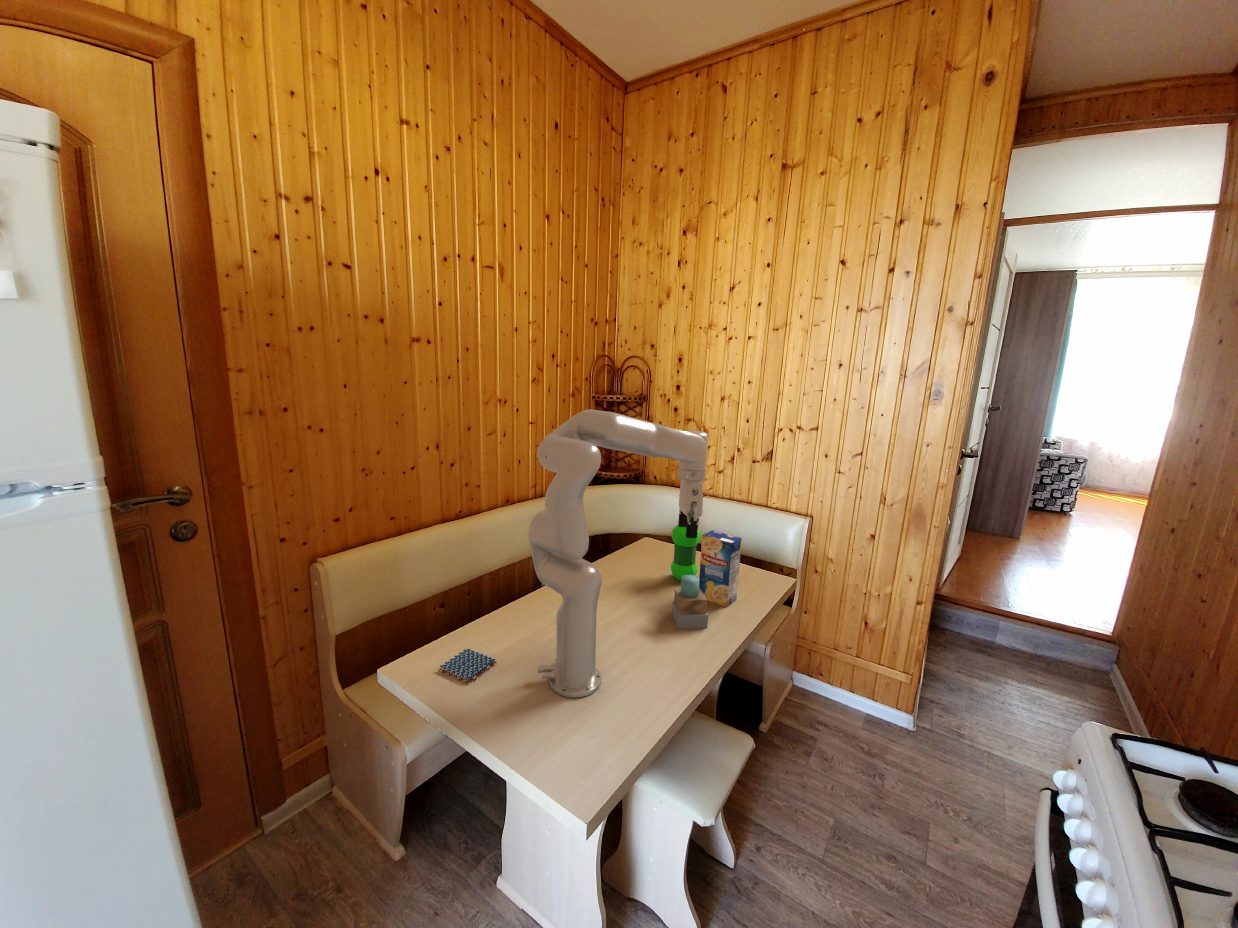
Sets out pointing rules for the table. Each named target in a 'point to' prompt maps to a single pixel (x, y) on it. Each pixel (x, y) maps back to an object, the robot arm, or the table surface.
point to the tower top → (690, 603)
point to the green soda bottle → (684, 553)
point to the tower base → (689, 619)
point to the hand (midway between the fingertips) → (687, 532)
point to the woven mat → (468, 665)
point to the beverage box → (720, 567)
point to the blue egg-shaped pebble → (689, 586)
